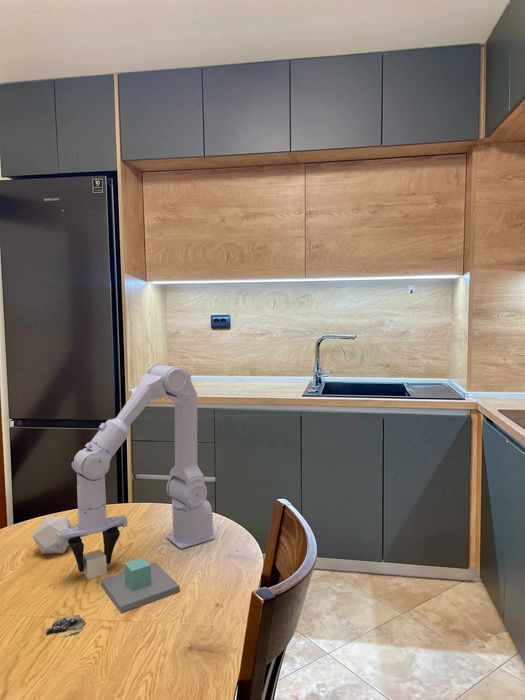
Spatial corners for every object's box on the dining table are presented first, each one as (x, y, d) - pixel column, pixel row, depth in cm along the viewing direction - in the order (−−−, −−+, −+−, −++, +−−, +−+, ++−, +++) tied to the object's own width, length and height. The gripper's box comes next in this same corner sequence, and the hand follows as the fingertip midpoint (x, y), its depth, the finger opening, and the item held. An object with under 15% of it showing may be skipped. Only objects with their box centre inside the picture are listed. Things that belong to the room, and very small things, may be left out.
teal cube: (143, 575, 103) (143, 557, 103) (151, 584, 100) (150, 564, 99) (125, 581, 101) (124, 563, 100) (132, 590, 97) (131, 571, 97)
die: (49, 566, 111) (75, 527, 114) (19, 545, 113) (45, 507, 115) (63, 561, 119) (87, 525, 122) (34, 542, 120) (59, 506, 123)
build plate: (155, 567, 109) (155, 562, 109) (179, 591, 99) (179, 585, 99) (101, 585, 102) (100, 579, 102) (121, 612, 92) (120, 606, 92)
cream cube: (101, 566, 110) (100, 549, 110) (106, 573, 106) (106, 555, 106) (82, 571, 107) (81, 554, 107) (87, 579, 104) (87, 561, 104)
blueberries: (91, 630, 88) (90, 620, 88) (44, 651, 82) (43, 640, 82) (76, 614, 93) (76, 604, 93) (31, 632, 87) (30, 622, 87)
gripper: (118, 492, 113) (120, 549, 114) (51, 507, 105) (54, 568, 106) (129, 501, 108) (131, 561, 109) (60, 517, 99) (62, 582, 100)
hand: (94, 566), depth 107 cm, fingers open, 5 cm apart
